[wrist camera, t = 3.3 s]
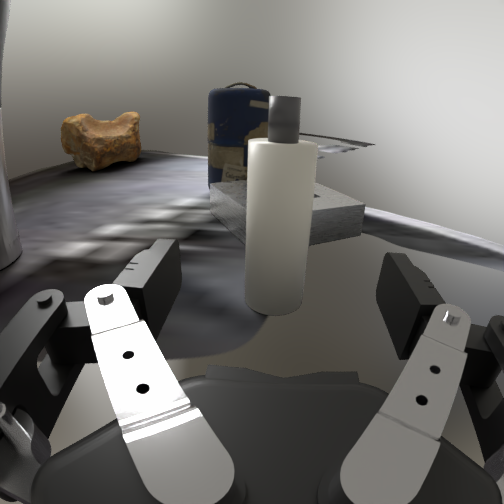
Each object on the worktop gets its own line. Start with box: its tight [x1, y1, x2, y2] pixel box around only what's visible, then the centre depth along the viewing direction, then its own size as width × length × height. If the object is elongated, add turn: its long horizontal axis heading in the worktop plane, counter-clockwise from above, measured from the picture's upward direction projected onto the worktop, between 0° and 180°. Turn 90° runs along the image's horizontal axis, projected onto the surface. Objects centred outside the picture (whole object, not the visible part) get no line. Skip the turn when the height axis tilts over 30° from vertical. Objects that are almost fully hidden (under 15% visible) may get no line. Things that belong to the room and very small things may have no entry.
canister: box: [208, 82, 271, 189], centre depth 47 cm, size 10×10×18 cm
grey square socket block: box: [210, 180, 365, 246], centre depth 39 cm, size 14×14×4 cm
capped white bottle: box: [245, 96, 318, 316], centre depth 22 cm, size 4×4×15 cm
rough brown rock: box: [61, 112, 141, 171], centre depth 72 cm, size 23×17×15 cm
